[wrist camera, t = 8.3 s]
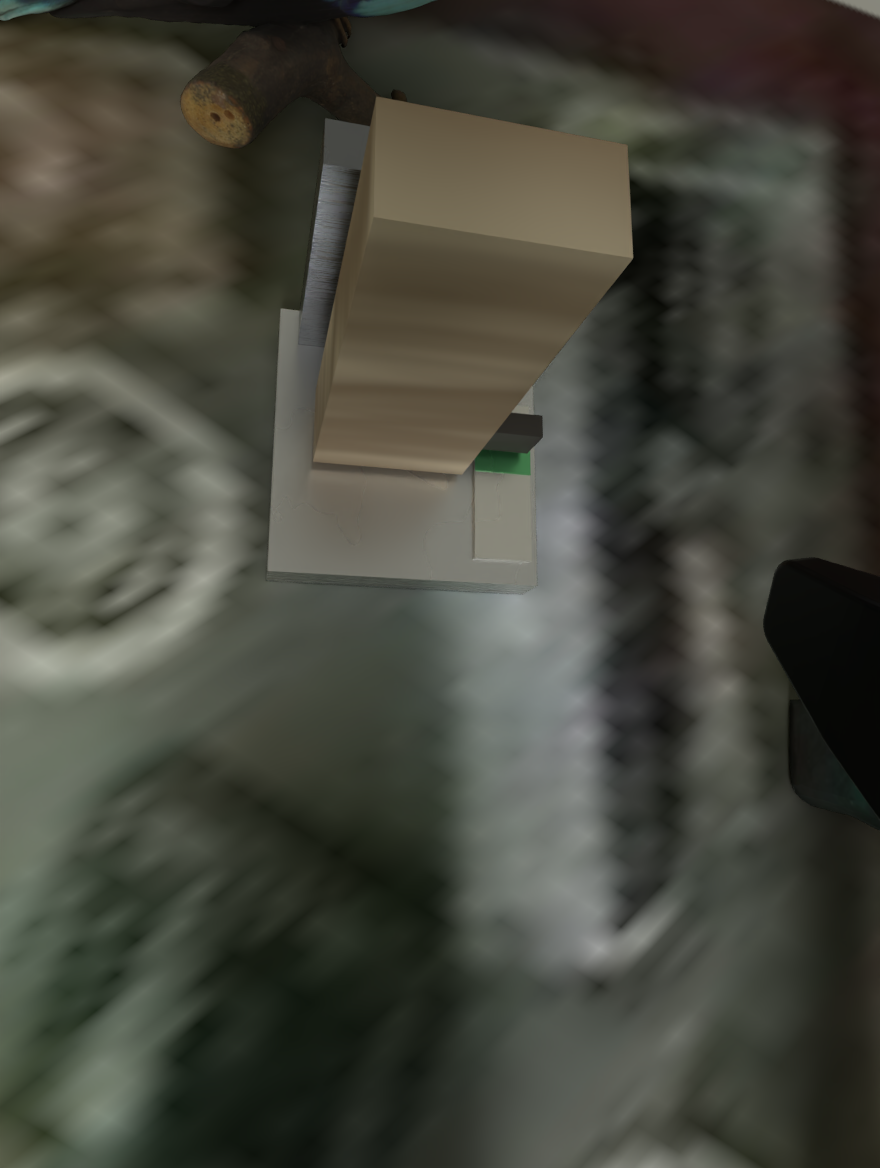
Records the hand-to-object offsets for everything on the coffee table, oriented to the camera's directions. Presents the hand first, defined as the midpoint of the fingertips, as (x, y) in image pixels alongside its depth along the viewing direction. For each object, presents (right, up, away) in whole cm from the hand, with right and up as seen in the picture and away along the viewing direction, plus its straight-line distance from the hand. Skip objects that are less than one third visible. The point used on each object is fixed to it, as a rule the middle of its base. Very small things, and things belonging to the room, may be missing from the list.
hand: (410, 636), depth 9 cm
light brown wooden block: (0, +5, +13) cm, 14 cm away
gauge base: (-1, +4, +14) cm, 15 cm away
